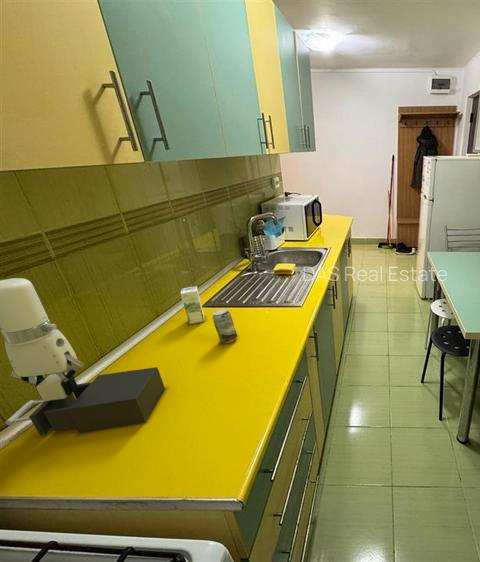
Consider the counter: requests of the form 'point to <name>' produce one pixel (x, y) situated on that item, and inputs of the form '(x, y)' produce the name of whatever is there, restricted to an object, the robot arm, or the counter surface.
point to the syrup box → (192, 305)
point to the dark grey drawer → (50, 412)
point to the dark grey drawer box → (117, 400)
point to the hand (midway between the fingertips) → (60, 392)
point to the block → (51, 388)
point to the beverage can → (224, 325)
